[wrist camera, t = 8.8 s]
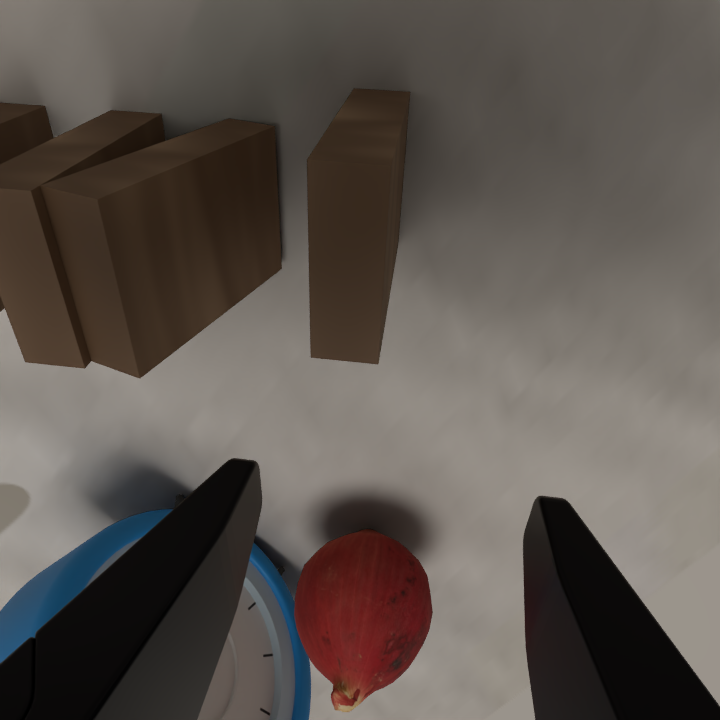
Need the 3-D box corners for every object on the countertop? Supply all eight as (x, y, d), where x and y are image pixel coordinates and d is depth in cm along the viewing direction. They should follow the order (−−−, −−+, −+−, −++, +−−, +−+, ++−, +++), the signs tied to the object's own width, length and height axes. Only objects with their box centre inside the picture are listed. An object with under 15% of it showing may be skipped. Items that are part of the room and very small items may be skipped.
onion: (424, 489, 26) (417, 673, 19) (439, 568, 29) (437, 749, 22) (299, 494, 27) (253, 669, 20) (327, 570, 30) (294, 741, 24)
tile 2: (274, 126, 17) (96, 199, 12) (281, 268, 19) (139, 378, 14) (228, 118, 17) (39, 185, 12) (242, 258, 20) (91, 361, 15)
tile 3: (161, 113, 17) (30, 190, 12) (183, 253, 20) (84, 368, 15) (110, 110, 18) (-42, 184, 12) (139, 249, 20) (25, 362, 15)
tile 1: (410, 91, 16) (391, 165, 11) (398, 243, 19) (378, 364, 13) (354, 88, 16) (307, 159, 11) (350, 239, 19) (310, 357, 14)
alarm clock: (335, 592, 31) (265, 1005, 19) (261, 624, 34) (158, 1001, 22) (138, 447, 26) (-124, 877, 14) (71, 500, 29) (-196, 893, 17)
